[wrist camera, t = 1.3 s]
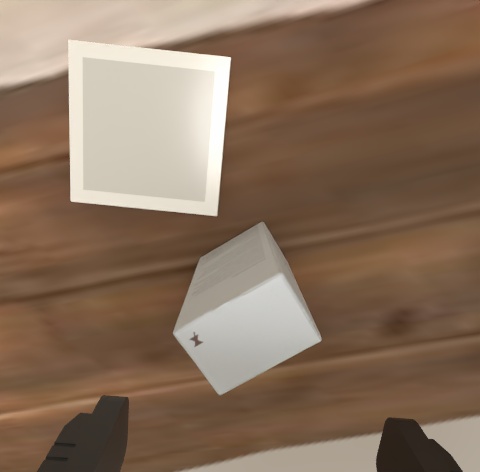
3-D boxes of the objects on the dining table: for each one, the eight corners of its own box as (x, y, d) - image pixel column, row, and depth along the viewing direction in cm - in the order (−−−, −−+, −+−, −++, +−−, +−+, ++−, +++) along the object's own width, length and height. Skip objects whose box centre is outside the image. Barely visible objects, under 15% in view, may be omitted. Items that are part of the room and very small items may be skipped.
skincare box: (226, 299, 29) (215, 400, 17) (198, 256, 28) (167, 332, 16) (291, 263, 28) (325, 343, 16) (264, 218, 27) (280, 269, 15)
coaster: (231, 60, 24) (230, 57, 24) (217, 214, 27) (216, 216, 26) (73, 43, 24) (67, 39, 23) (75, 199, 27) (70, 201, 26)
